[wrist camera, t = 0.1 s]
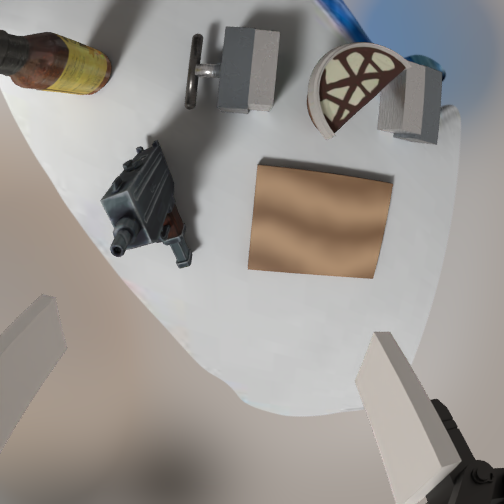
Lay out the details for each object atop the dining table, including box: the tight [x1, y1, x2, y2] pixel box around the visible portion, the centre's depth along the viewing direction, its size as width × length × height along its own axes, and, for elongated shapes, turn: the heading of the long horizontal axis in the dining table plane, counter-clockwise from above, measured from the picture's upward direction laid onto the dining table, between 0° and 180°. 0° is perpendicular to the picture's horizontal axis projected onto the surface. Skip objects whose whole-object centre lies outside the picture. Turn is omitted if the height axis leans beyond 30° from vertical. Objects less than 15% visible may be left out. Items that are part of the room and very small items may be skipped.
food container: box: [307, 42, 412, 140], centre depth 28 cm, size 12×6×10 cm, turn 135°
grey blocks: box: [185, 27, 442, 145], centre depth 29 cm, size 9×28×7 cm, turn 85°
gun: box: [100, 140, 192, 268], centre depth 31 cm, size 3×17×15 cm
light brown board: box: [248, 165, 393, 279], centre depth 38 cm, size 13×17×1 cm
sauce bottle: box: [0, 30, 111, 95], centre depth 22 cm, size 7×6×20 cm
